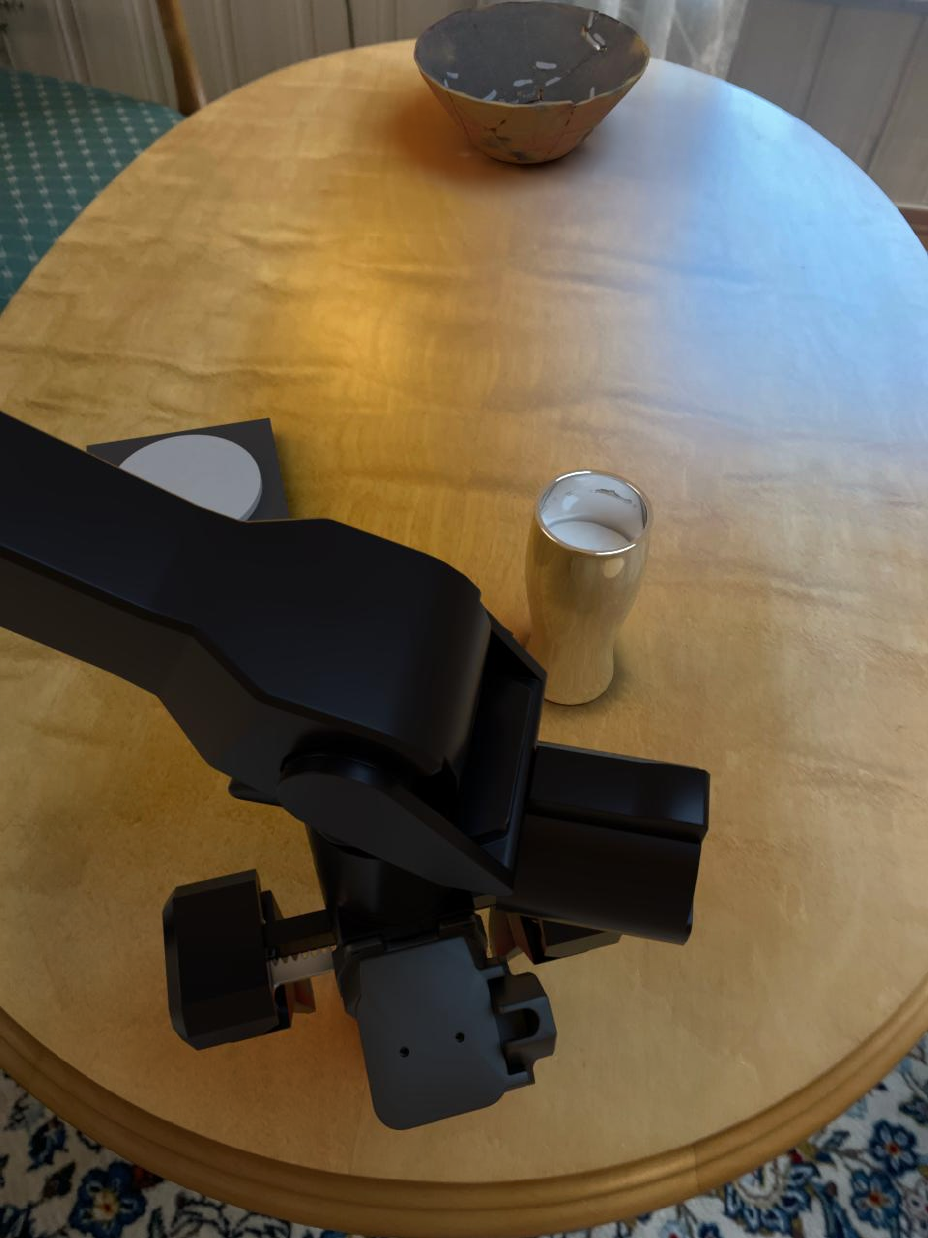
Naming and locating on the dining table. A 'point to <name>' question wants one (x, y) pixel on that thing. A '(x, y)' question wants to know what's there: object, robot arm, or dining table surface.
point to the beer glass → (584, 577)
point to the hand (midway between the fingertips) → (405, 978)
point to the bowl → (529, 74)
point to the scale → (210, 467)
